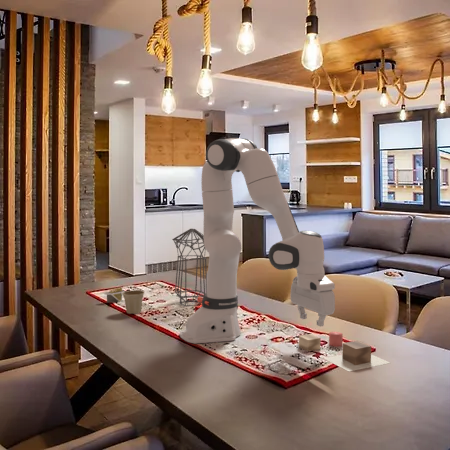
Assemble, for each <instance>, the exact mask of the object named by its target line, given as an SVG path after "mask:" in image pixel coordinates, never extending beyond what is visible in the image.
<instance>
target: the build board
mask: <svg viewBox="0 0 450 450" xmlns="http://www.w3.org/2000/svg"><path fill="white" fill-rule="evenodd" d="M342 355H343V354H338V355H333V356H328V357H323V359H324V360H325V361H327V362H330V363H331V364H334V365H335V366H337V367H339V368H341V369H343V370H345V371H347V372H350V373H351V372H354V371H359V370H363V369H369V368H373V367H378V366H383V365H387V364H391V362H389V361H387V360H385V359H382V358H381V357H378V356H376V355H374V354H372V353H371V362H369V363H364V364H360V365H354V364H352V363H350V362H348V361H346V360H344V359H342Z"/></svg>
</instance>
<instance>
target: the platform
mask: <svg viewBox="0 0 450 450" xmlns="http://www.w3.org/2000/svg"><path fill="white" fill-rule="evenodd" d="M123 292H125V290H124V289H123V287H115V288H110V289H109V291H106V292H104V293H103V294H104V295H106V303H107V304H108V303H113V302H118V301H119V302H121V301H122V300H123V297H122V295H123V294H122V293H123Z"/></svg>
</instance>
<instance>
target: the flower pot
mask: <svg viewBox="0 0 450 450" xmlns="http://www.w3.org/2000/svg"><path fill="white" fill-rule="evenodd" d="M144 294H145V291H143V290H135V289H134V290H133V289H131V290H126V291H125V290H124V292H123V293H122V295H123V298H124V305H125V310H126V313H127V314H129V315H131V314H134V315H136V314H140V313H141V312H142V307H143V298H144Z"/></svg>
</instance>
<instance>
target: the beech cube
mask: <svg viewBox="0 0 450 450" xmlns="http://www.w3.org/2000/svg"><path fill="white" fill-rule="evenodd" d="M298 336H299V337H298V347H299V348H300V349H302V350H304V351H306V352H312V351H317V350H321V337H319V336H318V335H315V334H313V333H310V334H309V333H308V334H301V335H298Z"/></svg>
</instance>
